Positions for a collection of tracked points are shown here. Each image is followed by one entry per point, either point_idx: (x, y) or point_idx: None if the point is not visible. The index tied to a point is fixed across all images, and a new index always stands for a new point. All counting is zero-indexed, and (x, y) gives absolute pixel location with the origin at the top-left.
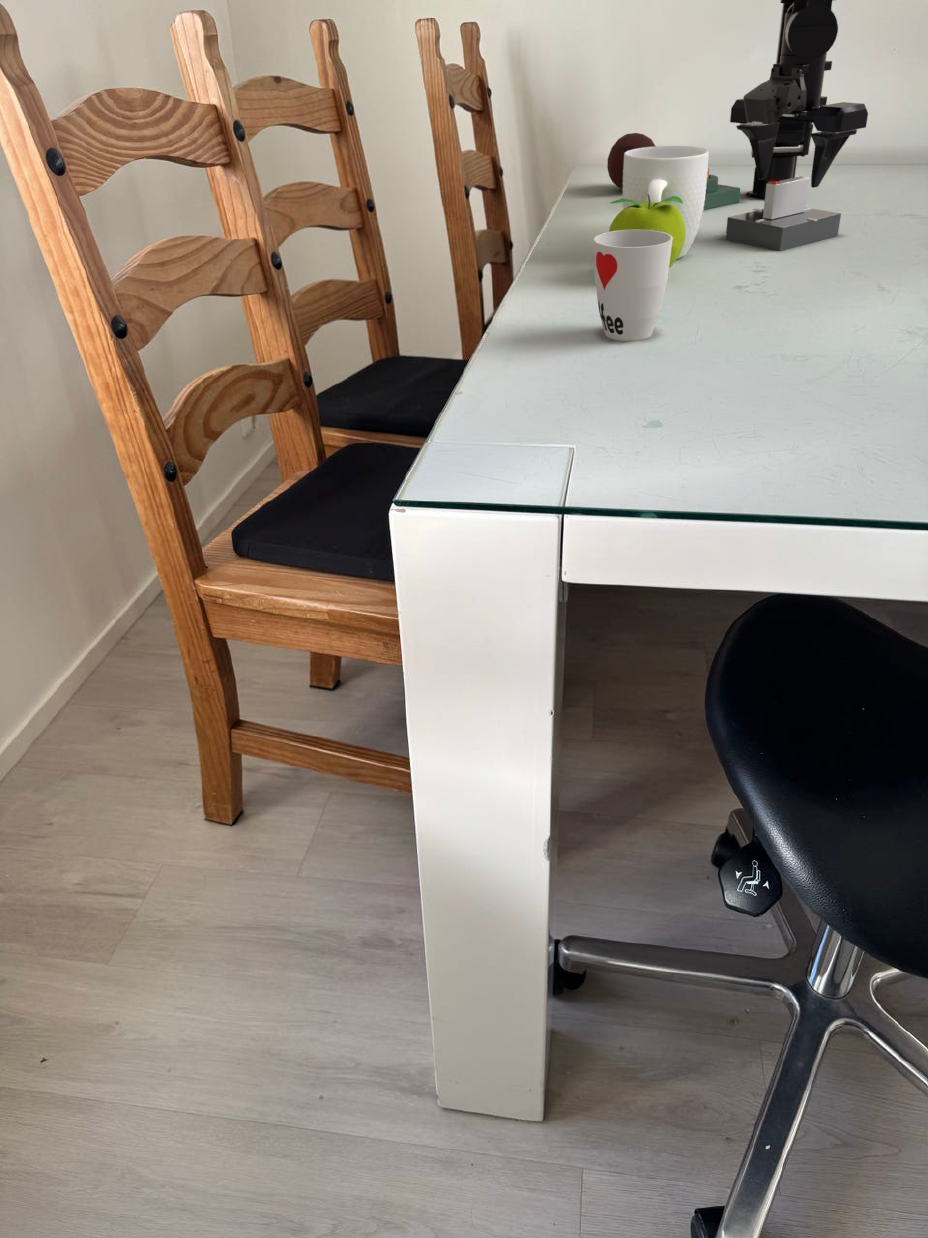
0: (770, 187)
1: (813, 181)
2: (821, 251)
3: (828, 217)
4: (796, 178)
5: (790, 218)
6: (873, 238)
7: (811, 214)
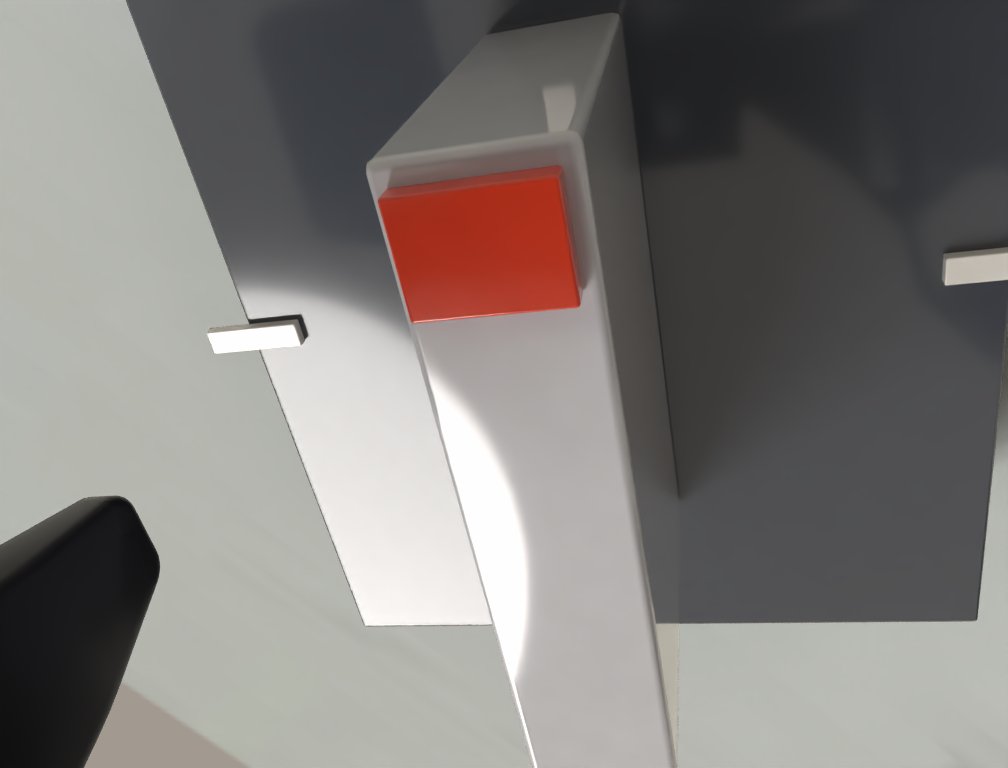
0: (480, 130)
1: (40, 532)
2: (57, 139)
3: (323, 505)
4: (587, 668)
5: None
6: (247, 589)
7: None
